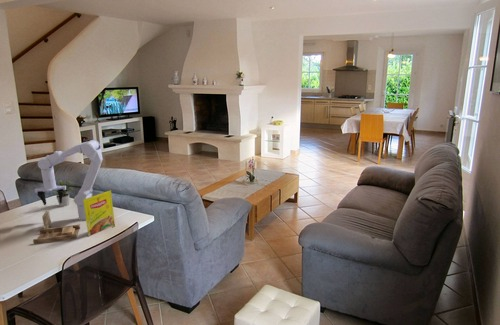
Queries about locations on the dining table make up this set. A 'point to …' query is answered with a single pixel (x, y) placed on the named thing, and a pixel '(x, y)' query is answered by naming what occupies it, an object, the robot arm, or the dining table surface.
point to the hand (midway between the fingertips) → (53, 203)
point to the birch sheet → (46, 220)
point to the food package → (99, 212)
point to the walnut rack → (55, 234)
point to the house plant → (64, 194)
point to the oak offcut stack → (68, 231)
